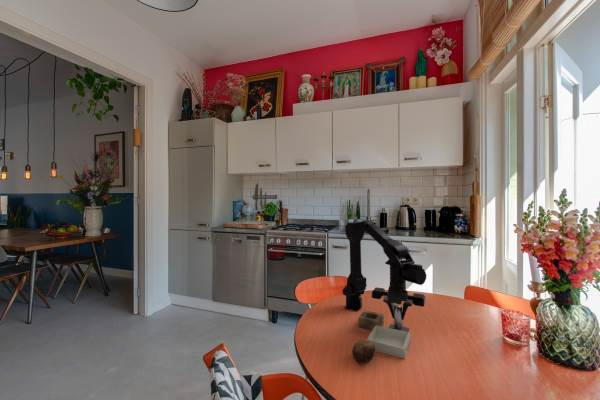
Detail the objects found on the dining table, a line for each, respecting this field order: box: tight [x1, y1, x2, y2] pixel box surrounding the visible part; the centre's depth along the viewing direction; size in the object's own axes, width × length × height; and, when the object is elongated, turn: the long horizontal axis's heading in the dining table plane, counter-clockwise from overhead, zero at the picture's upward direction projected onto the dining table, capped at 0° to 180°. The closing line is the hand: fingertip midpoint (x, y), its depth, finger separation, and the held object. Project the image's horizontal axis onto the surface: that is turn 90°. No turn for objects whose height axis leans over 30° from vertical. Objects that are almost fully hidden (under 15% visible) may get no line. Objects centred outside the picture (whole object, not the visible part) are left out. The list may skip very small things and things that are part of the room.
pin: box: [393, 304, 403, 331], centre depth 103 cm, size 3×3×9 cm
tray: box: [366, 325, 411, 359], centre depth 93 cm, size 12×12×3 cm
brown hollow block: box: [357, 310, 385, 332], centre depth 107 cm, size 8×8×4 cm
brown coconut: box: [351, 339, 376, 365], centre depth 84 cm, size 8×8×6 cm
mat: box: [388, 323, 410, 333], centre depth 103 cm, size 7×7×1 cm
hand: (398, 318), depth 103 cm, fingers closed on pin, 3 cm apart
